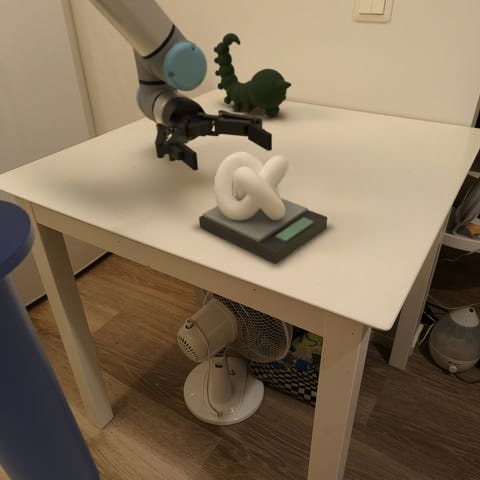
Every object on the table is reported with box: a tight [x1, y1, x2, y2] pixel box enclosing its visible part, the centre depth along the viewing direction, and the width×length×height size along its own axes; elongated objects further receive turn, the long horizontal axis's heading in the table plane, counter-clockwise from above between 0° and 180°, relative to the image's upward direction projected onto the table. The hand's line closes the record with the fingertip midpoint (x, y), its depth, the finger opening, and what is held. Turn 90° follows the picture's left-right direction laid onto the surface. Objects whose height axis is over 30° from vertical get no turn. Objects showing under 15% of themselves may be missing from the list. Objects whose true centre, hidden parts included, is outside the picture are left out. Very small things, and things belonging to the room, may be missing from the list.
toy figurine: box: [213, 32, 292, 119], centre depth 114 cm, size 9×19×25 cm
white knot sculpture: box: [213, 151, 290, 220], centre depth 70 cm, size 11×12×9 cm
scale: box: [198, 195, 328, 265], centre depth 72 cm, size 16×13×3 cm
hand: (234, 152), depth 72 cm, fingers open, 13 cm apart
